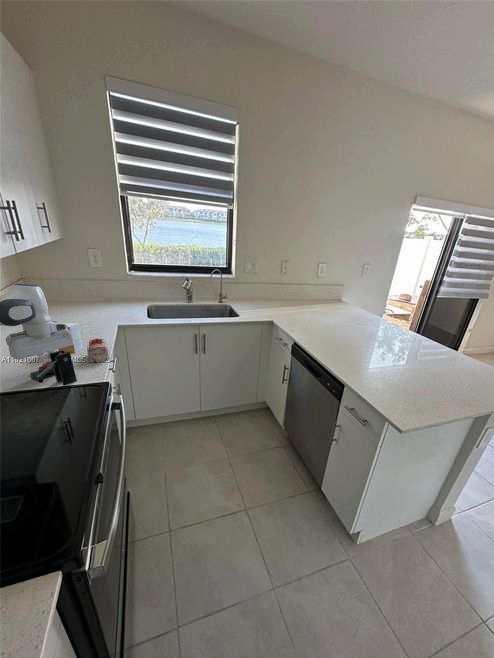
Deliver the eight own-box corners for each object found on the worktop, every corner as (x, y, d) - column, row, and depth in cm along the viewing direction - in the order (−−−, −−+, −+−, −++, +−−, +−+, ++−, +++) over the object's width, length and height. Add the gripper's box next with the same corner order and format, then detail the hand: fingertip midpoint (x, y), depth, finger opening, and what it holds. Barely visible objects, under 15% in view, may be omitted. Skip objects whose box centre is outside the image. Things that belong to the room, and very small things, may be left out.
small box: (58, 352, 137) (51, 326, 133) (67, 348, 143) (61, 322, 138) (75, 353, 137) (69, 326, 132) (83, 348, 143) (78, 323, 138)
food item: (111, 363, 128) (107, 342, 124) (90, 367, 124) (85, 345, 120) (108, 353, 138) (104, 334, 134) (88, 356, 134) (84, 336, 130)
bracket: (57, 394, 101) (48, 361, 96) (43, 388, 105) (33, 355, 100) (90, 381, 111) (84, 350, 106) (77, 376, 115) (69, 346, 110)
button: (46, 370, 111) (45, 366, 110) (41, 368, 112) (40, 364, 112) (56, 367, 114) (55, 363, 113) (51, 365, 115) (50, 361, 115)
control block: (42, 383, 109) (40, 373, 107) (31, 378, 112) (28, 368, 111) (70, 373, 117) (68, 364, 115) (59, 369, 120) (57, 360, 119)
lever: (42, 384, 98) (36, 380, 96) (34, 381, 100) (28, 376, 98) (70, 358, 104) (65, 354, 103) (62, 355, 107) (57, 351, 105)
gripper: (8, 336, 97) (20, 373, 102) (71, 323, 114) (79, 356, 119) (-1, 333, 100) (11, 369, 105) (62, 321, 117) (70, 353, 122)
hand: (48, 362), depth 112 cm, fingers closed
